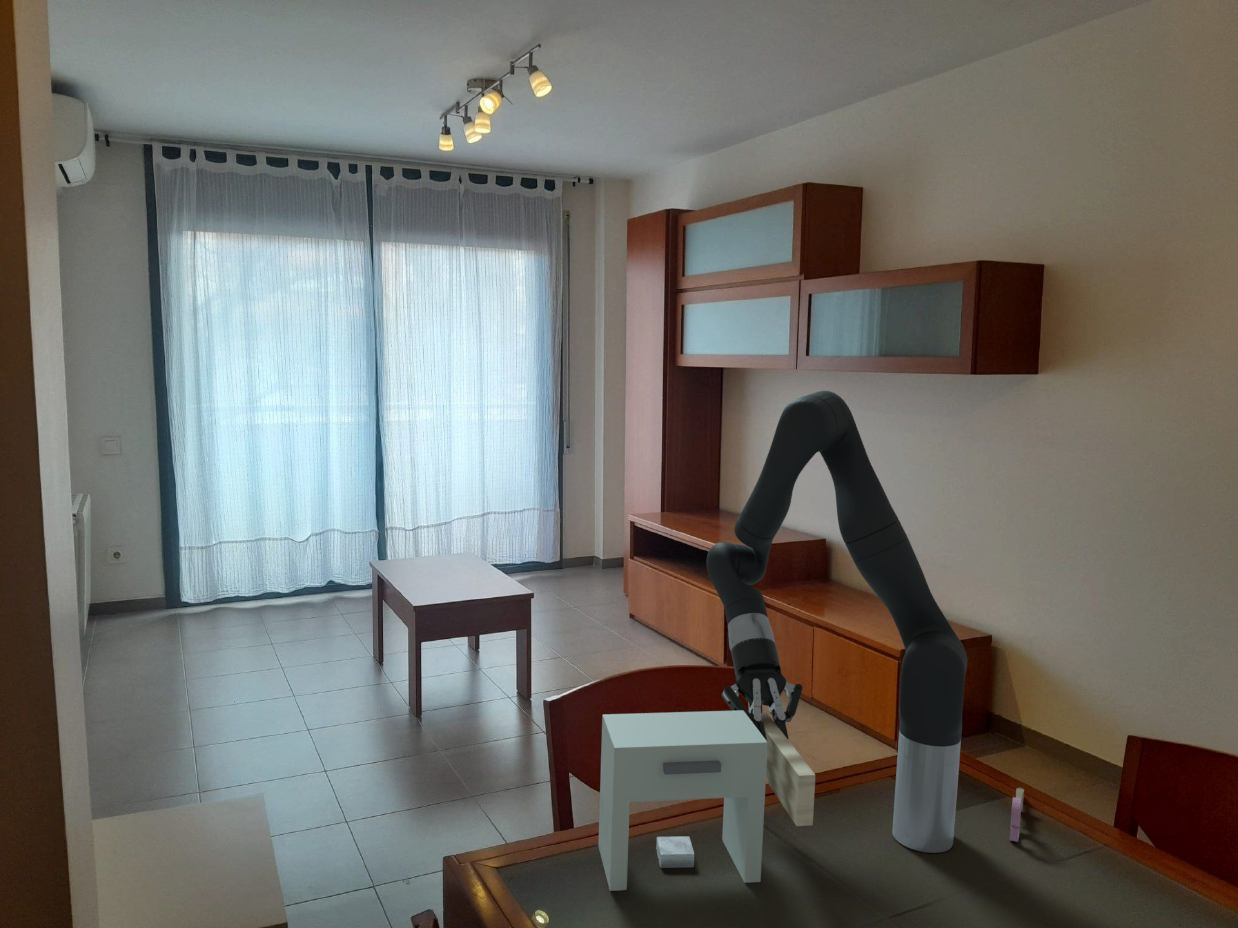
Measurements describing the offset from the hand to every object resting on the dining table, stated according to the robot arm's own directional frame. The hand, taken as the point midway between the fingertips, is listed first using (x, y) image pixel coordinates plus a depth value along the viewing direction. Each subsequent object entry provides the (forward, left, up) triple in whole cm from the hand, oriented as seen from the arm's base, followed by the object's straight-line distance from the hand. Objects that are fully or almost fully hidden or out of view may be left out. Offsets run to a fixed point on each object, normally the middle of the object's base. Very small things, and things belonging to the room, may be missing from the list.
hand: (773, 746), depth 143 cm
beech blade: (+3, +2, -5) cm, 6 cm away
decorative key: (-30, +33, -15) cm, 47 cm away
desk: (+15, -9, -15) cm, 23 cm away
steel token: (+14, -9, -15) cm, 23 cm away
